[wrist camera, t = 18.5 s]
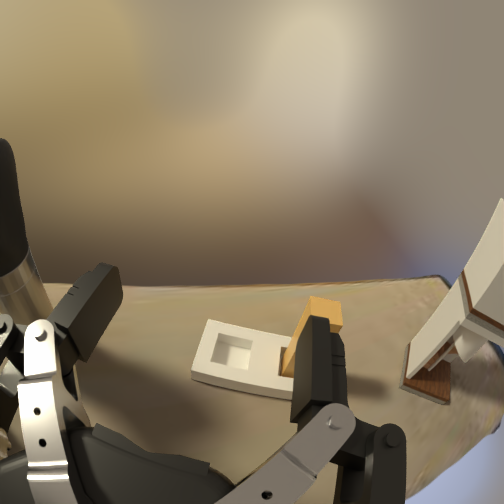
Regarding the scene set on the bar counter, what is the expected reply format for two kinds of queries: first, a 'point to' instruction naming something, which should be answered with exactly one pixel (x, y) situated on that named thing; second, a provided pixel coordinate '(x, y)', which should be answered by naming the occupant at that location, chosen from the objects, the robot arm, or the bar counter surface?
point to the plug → (313, 308)
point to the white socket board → (242, 360)
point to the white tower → (460, 319)
